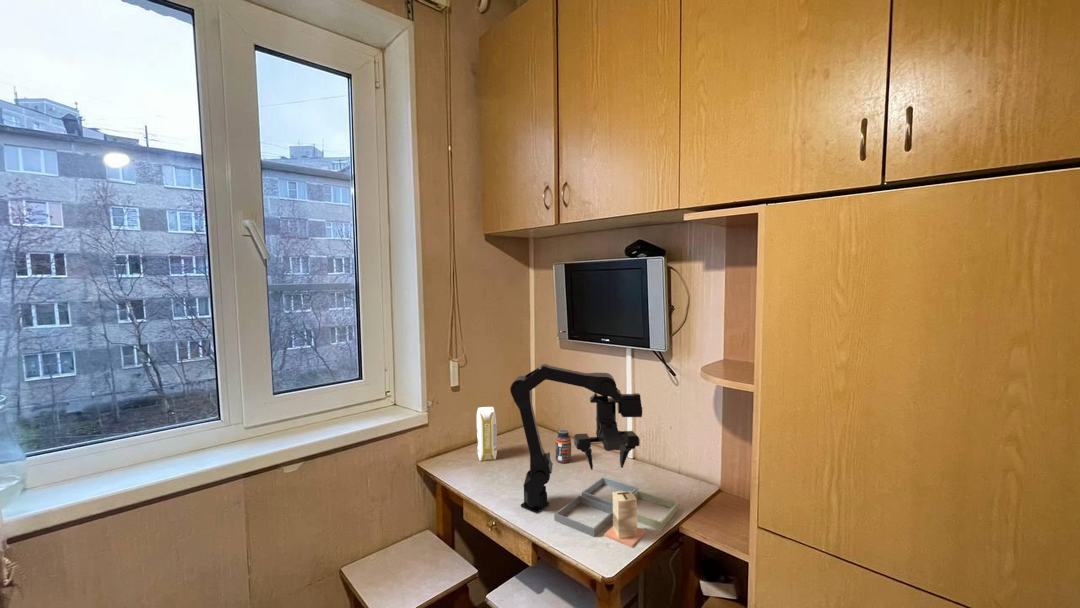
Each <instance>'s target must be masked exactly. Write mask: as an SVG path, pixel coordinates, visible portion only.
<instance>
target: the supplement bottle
mask: <svg viewBox="0 0 1080 608" xmlns="http://www.w3.org/2000/svg"><path fill="white" fill-rule="evenodd" d="M571 460H572V438H571V436H570V433H569V430H567V429H559V430H558V431H557V435H556V437H555V461H556V462H558V463H560V464H568V463H569V462H571Z"/></svg>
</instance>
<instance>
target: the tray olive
mask: <svg viewBox="0 0 1080 608" xmlns="http://www.w3.org/2000/svg"><path fill="white" fill-rule="evenodd" d="M633 495H634V496H635V498H636V499H637V500H638V499H642V500H644V501H647V502H651V503H654V504H658V505H661V506H663V507H667V508H670V510H669V511H668V512H667V513H666V514H665V515H664V516H663V518H662V519H661V520H658V519H654V518H651V517H649V516H646V515H642V514H640V513H637V521H638V522H637V523H640V522H641V524H643V523H644V525H646V526H648V525H649V527H651V526H652V527H651V528H654V529H657V530H659V529H660V531H662V530H663V529H664V528H665V526H667V524H668V523H669V521H670V520H671V519H672V518H673V517H674V516H675V514H677V512H678V511H679V506H680V505H679V504H680V503H679V502H677V501H674V500H670V499H667V498H663V497H661V496H658V495H654V494H651V493H648V492H645V491H641V490H639V489H638V490H637V491H636V492H635V493H634V494H633Z"/></svg>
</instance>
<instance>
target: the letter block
mask: <svg viewBox="0 0 1080 608" xmlns="http://www.w3.org/2000/svg"><path fill="white" fill-rule="evenodd" d="M612 502H613V520H612V526H613V529H614V531H615V533H616V535H617V537H618V539H623V538H634V537H637V528H638V522H637V514H638V498H637V499H636V498H635V496H634V495H633V493H632V492H631V491H625V490H620V491H619V490H618V491H612Z"/></svg>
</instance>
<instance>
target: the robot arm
mask: <svg viewBox="0 0 1080 608" xmlns="http://www.w3.org/2000/svg"><path fill="white" fill-rule="evenodd" d="M544 381H551V382H557V383H562V384H566V385H572V386H577V387H581V388H584V389H586V390H588V391H591V392H592V393H593V395H592V396H590V397H589V401H590V403H591V404H596V405H595V408H596V409H595V412H596V417H595V422H596V430H595V434H596V436H589V435H588V433H576V434H575V435H573V444H574V446H575V448H576V449H577V450H579V451H581V452H582V453H584V454H585V456H586V459H587V462H588V463H587V464H588V465H589V468H590V470H591V471H592V470H593V466H594V464H593V457H592V451H593V450H592V449H591V446H592V445H596V444H597V445H598V444H602V445H603V449H604V450H605V451H607V452H611V451H619V466H620V468H621V469H623V468H624V465H625V463H626V460H627V458H628V455H629V454H630V452H631V451H632V450H634V449H636V447H639V446H640V445H641V444H640V441H641V440H640V437H639V436H638V434H636V433H635V432H634V431H633V430H624V431H623V430H622V431H621V430H619V429H618V424H617V423H618V422H617V418H616V417H617V413H618V415H619V414H620V416H621V417H622V418H642V417H643V407H642V400H641V395H640V393H639V392H638V393H636V392H635V393H622V392H621V390H620V389H619V388H617V384H616V380H615V378H614V377H613V375H612V374H610V373H608V372H583V371H577V370H572V369H566V368H562V367H559V366H554V365H553V366H552V365H549V364H546V363H543V364H541V365H540V366H539V367H537V368H535V369H534V370H531V371H530V372H528V373H526V374H525V375H519V376H517V377H516V378H515V379H514V380H513V382H512V384H511V385H510V387H509V388H510V389H509V390H510V391H509V392H510V395H511V397H512V399H513V401H514V403H515V405H516V406H517V408H518V410H519V414H520V418H521V421H522V422H521V423H522V427H523V430H524V434H525V439H526V443H527V448H528V452H529V470H528V471H526V474H525V479H524V483H523V502H522V503H521V504H520V507H521V508H524V509H526V510H527V511H528V510H529V511H531V512H533V513H536V514H537V513H539V512H541V511H542V510H543V509H545V508H546V507H548V506H549V505H550V501H548V492H547V486H546V484H547V483H549V481H550V478H551V475H552V471H553V465H554V463H553V462H552V460H551V453H550V451H548V452H545V450H544V448H543V445H542V441H541V437H540V436H541V435H540V431H539V427H538V424H537V419H536V415H535V411H534V406H533V389H535V388H536V387H538V386H539V385H540V384H541V383H542V382H544ZM616 406H617V407H616ZM616 408H617V409H616Z"/></svg>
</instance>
